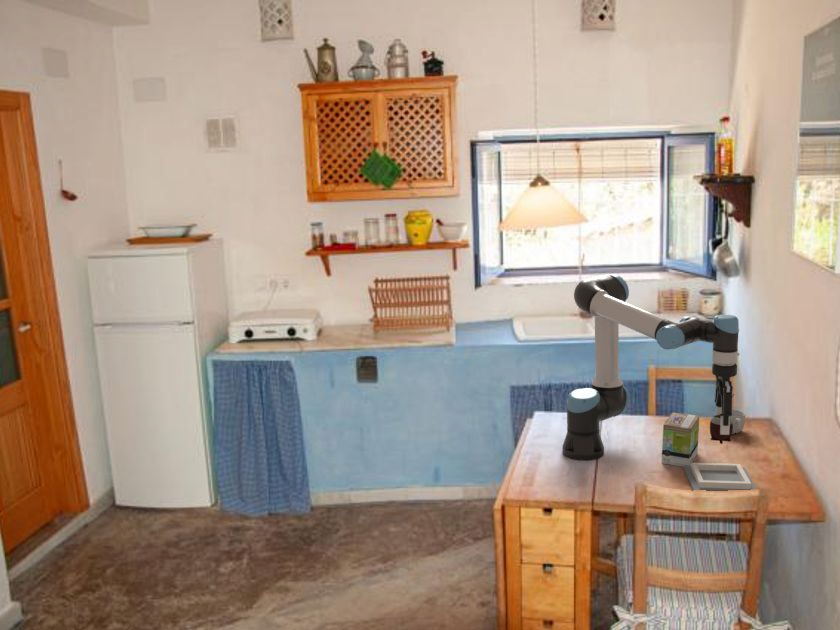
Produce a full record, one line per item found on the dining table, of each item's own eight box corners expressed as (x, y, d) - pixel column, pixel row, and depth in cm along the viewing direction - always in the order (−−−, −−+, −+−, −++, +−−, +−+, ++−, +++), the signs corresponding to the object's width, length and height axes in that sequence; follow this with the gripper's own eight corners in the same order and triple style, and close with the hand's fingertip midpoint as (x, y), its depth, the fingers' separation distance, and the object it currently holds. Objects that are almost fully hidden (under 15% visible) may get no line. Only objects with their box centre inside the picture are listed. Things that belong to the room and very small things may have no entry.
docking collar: (693, 493, 254) (694, 484, 254) (683, 468, 274) (684, 460, 273) (759, 495, 251) (759, 486, 250) (744, 469, 270) (744, 461, 270)
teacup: (712, 426, 312) (713, 407, 310) (740, 426, 310) (741, 407, 309) (720, 439, 299) (721, 419, 297) (750, 439, 297) (751, 419, 295)
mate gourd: (710, 443, 257) (711, 399, 254) (708, 434, 264) (710, 392, 261) (734, 445, 255) (736, 401, 252) (732, 436, 262) (734, 393, 259)
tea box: (690, 468, 274) (691, 428, 270) (660, 463, 278) (661, 424, 275) (698, 453, 286) (699, 414, 283) (670, 449, 291) (671, 411, 288)
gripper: (744, 371, 243) (741, 441, 248) (730, 354, 263) (727, 419, 268) (718, 371, 245) (716, 440, 250) (706, 354, 264) (704, 419, 269)
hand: (722, 429), depth 259 cm, fingers closed on mate gourd, 7 cm apart
